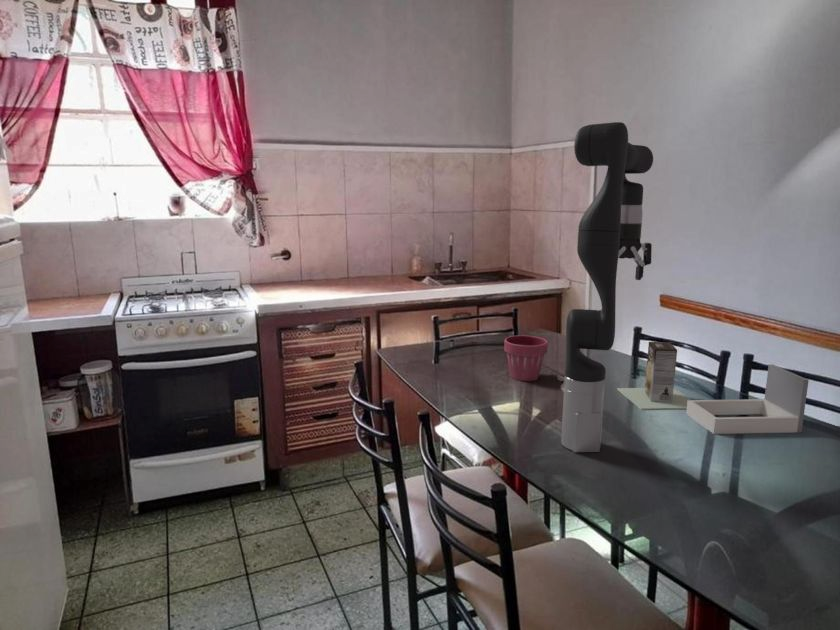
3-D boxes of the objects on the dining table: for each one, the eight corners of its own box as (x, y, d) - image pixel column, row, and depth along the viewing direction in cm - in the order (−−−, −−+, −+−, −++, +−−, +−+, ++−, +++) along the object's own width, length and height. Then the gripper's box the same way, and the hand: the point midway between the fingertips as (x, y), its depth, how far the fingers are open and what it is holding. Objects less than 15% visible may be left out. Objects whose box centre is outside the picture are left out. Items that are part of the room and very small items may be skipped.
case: (801, 432, 151) (808, 379, 148) (713, 433, 150) (719, 381, 147) (766, 412, 165) (772, 364, 162) (686, 414, 163) (690, 365, 161)
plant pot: (543, 385, 188) (544, 346, 185) (499, 381, 192) (500, 343, 190) (548, 373, 201) (550, 336, 199) (507, 369, 205) (508, 333, 203)
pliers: (566, 389, 180) (547, 375, 195) (566, 394, 180) (547, 380, 195) (596, 388, 182) (576, 374, 196) (596, 393, 182) (575, 378, 196)
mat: (703, 408, 168) (703, 407, 168) (641, 409, 167) (641, 408, 167) (672, 388, 185) (673, 387, 185) (616, 389, 184) (616, 388, 184)
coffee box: (643, 391, 181) (647, 341, 178) (665, 392, 180) (670, 341, 177) (650, 401, 172) (654, 348, 169) (673, 403, 171) (678, 349, 168)
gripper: (607, 222, 159) (603, 281, 162) (658, 222, 160) (653, 281, 163) (597, 221, 166) (593, 278, 170) (646, 221, 167) (642, 277, 170)
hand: (623, 279), depth 166 cm, fingers open, 8 cm apart
